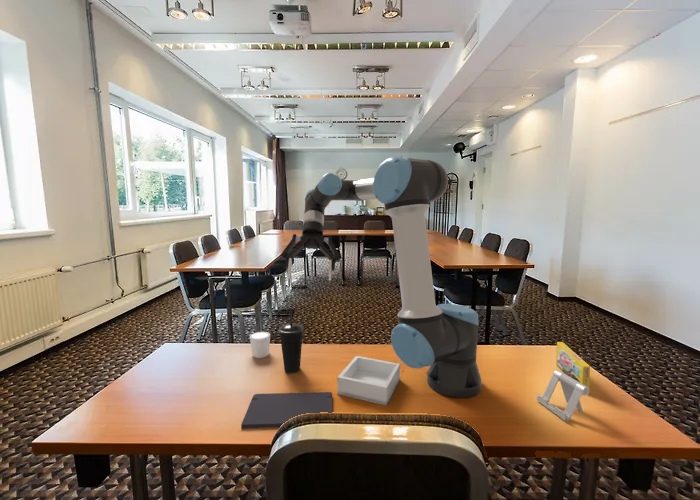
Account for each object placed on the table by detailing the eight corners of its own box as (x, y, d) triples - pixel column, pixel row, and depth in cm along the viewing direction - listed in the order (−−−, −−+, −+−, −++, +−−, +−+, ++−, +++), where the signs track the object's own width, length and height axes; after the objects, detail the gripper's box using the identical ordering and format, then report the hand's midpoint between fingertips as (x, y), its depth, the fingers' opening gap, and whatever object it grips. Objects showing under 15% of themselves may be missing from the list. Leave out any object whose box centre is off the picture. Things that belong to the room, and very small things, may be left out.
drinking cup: (306, 364, 109) (305, 305, 107) (301, 376, 102) (299, 312, 99) (284, 363, 110) (282, 304, 107) (276, 374, 103) (274, 312, 100)
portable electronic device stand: (536, 402, 89) (538, 372, 88) (560, 398, 91) (563, 369, 90) (563, 422, 81) (567, 390, 80) (590, 417, 82) (593, 386, 81)
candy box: (554, 365, 109) (556, 341, 108) (561, 366, 108) (563, 341, 107) (580, 393, 93) (583, 365, 92) (589, 394, 93) (592, 366, 91)
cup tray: (399, 379, 100) (400, 363, 99) (386, 405, 87) (386, 387, 86) (356, 370, 105) (356, 355, 105) (337, 394, 92) (337, 377, 92)
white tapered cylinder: (246, 357, 114) (246, 338, 113) (256, 349, 121) (255, 330, 120) (265, 359, 113) (265, 339, 112) (274, 350, 120) (273, 332, 119)
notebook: (241, 430, 79) (332, 427, 80) (241, 424, 78) (332, 421, 79) (254, 399, 91) (332, 396, 92) (253, 393, 91) (332, 391, 92)
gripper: (346, 233, 126) (346, 284, 115) (279, 230, 125) (272, 281, 114) (348, 221, 120) (347, 274, 109) (277, 218, 118) (269, 271, 107)
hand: (309, 278), depth 111 cm, fingers open, 13 cm apart
